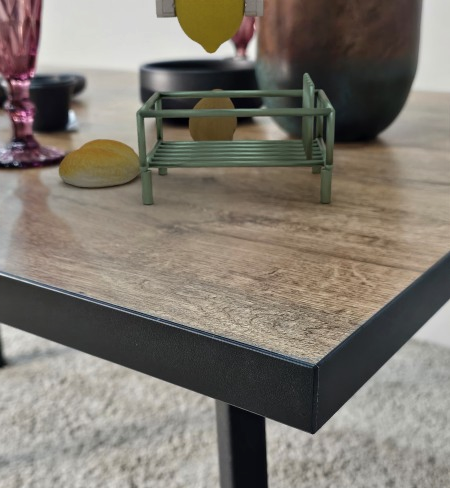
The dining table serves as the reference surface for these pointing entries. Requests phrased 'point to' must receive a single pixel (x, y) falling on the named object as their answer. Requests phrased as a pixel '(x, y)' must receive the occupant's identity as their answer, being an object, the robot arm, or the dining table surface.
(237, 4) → the lemon
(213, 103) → the potato
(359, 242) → the dining table surface
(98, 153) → the bread roll
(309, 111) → the dish rack
